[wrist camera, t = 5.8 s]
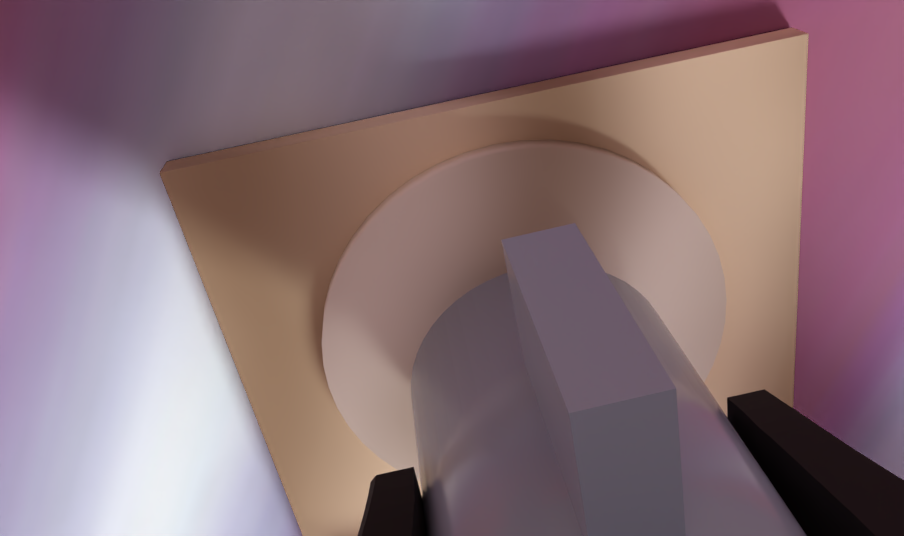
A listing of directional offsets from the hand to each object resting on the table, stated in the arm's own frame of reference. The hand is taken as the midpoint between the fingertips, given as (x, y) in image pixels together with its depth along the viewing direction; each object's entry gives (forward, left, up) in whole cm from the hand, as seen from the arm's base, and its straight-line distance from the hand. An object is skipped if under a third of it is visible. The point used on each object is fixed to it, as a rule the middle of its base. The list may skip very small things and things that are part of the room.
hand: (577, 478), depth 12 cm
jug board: (0, +6, -5) cm, 8 cm away
